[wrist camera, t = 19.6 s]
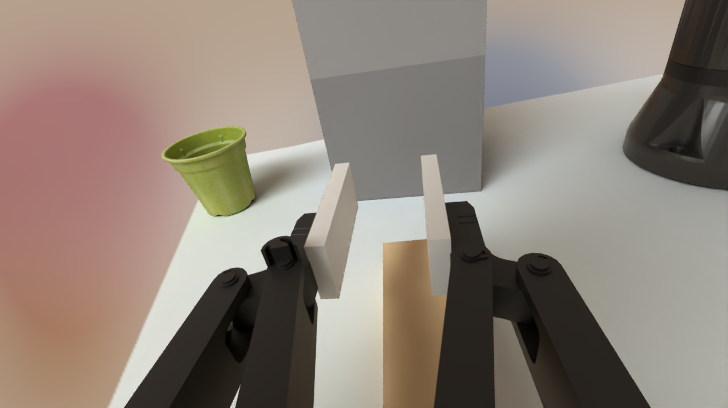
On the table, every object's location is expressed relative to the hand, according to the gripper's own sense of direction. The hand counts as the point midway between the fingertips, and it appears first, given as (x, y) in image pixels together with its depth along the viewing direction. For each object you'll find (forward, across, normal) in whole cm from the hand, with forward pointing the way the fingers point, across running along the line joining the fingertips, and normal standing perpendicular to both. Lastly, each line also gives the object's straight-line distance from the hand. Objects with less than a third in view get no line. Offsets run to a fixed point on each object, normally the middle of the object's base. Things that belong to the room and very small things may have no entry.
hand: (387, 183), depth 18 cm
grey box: (+26, 0, -12) cm, 28 cm away
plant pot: (+19, -22, -12) cm, 32 cm away
